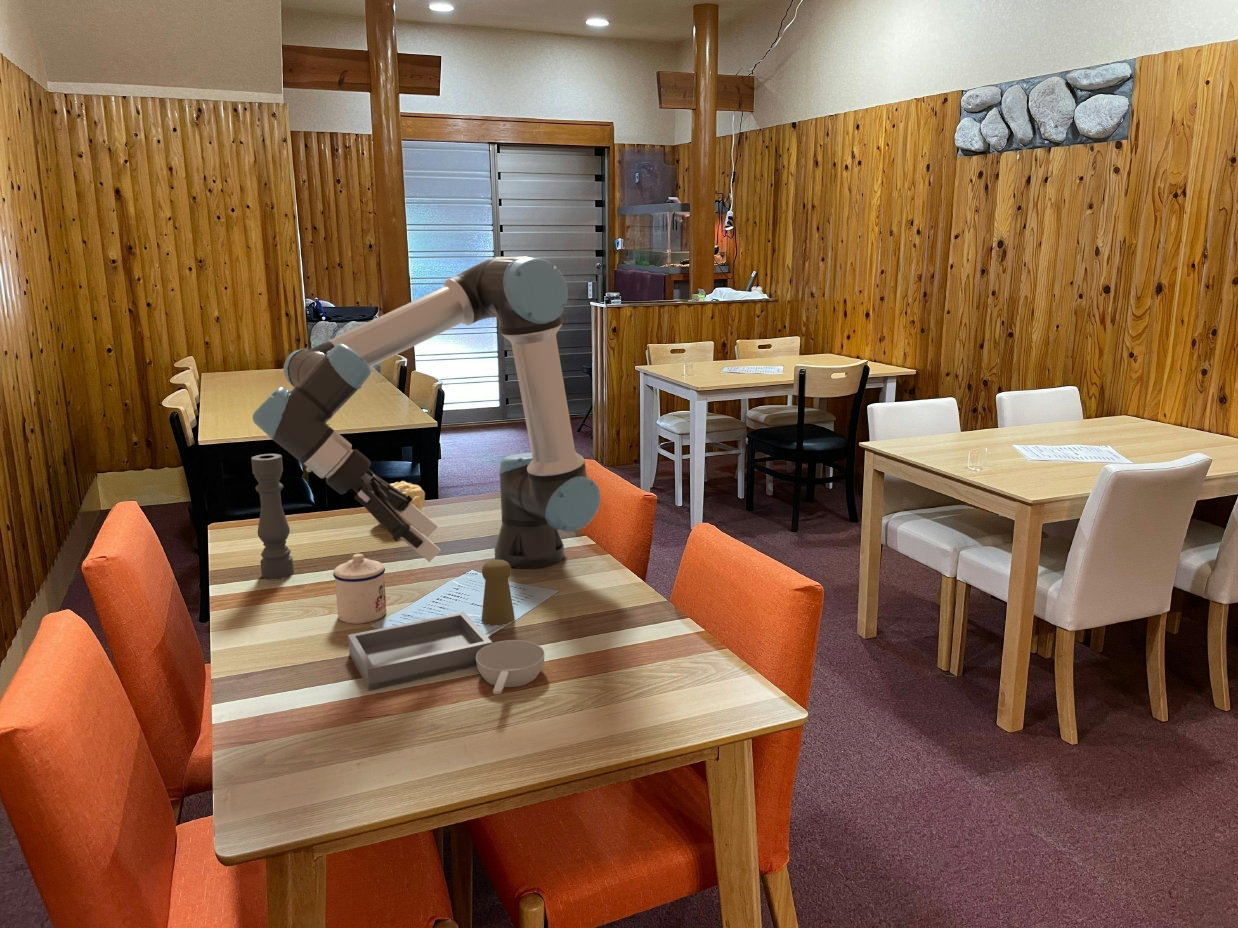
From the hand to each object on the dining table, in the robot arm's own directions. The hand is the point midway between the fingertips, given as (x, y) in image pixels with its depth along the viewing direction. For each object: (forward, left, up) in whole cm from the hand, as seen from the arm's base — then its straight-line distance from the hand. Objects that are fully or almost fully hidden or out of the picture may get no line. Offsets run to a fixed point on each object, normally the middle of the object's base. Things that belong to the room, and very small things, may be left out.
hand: (434, 543), depth 155 cm
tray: (+7, +12, -15) cm, 20 cm away
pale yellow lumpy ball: (-9, -62, -16) cm, 65 cm away
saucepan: (-3, +27, -16) cm, 31 cm away
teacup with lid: (+11, -12, -16) cm, 22 cm away
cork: (-10, +3, -16) cm, 19 cm away
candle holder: (+22, -40, -16) cm, 48 cm away
